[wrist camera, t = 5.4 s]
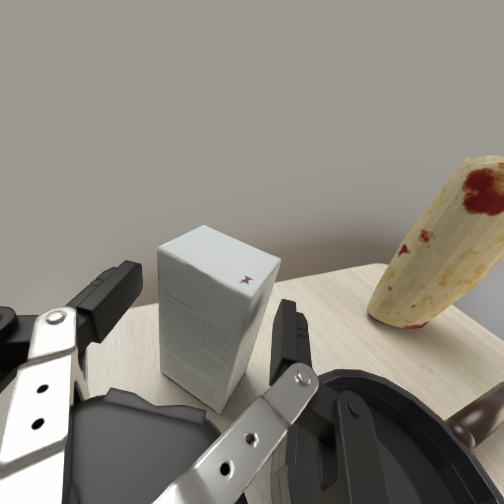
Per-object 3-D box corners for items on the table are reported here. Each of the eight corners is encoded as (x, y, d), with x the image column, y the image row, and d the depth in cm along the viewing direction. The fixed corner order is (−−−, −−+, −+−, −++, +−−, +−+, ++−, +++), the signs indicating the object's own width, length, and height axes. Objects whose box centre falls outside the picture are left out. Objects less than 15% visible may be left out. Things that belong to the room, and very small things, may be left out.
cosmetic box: (247, 369, 20) (285, 259, 14) (219, 417, 17) (254, 300, 10) (192, 334, 22) (203, 221, 15) (157, 370, 18) (152, 246, 12)
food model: (378, 340, 26) (527, 156, 15) (348, 297, 31) (443, 138, 21) (443, 338, 28) (611, 178, 18) (405, 298, 34) (516, 158, 23)
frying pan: (379, 873, 7) (457, 971, 5) (240, 424, 17) (250, 400, 15) (532, 593, 13) (598, 592, 11) (363, 373, 22) (382, 351, 20)
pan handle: (456, 460, 15) (475, 451, 14) (430, 430, 17) (447, 419, 16) (520, 405, 20) (538, 395, 19) (496, 384, 21) (512, 374, 20)
